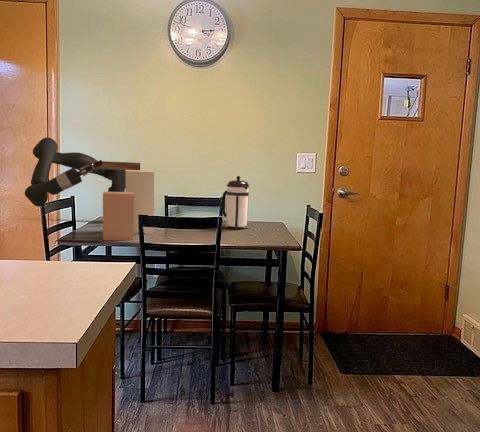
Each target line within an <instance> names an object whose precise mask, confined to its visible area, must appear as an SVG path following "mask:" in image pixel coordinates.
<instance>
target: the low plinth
mask: <svg viewBox="0 0 480 432" xmlns="http://www.w3.org/2000/svg"><path fill="white" fill-rule="evenodd" d="M134 237H135V234H134V192H126V191H125V192H108V191H104V192H103V193H102V240H103V241H134Z"/></svg>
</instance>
